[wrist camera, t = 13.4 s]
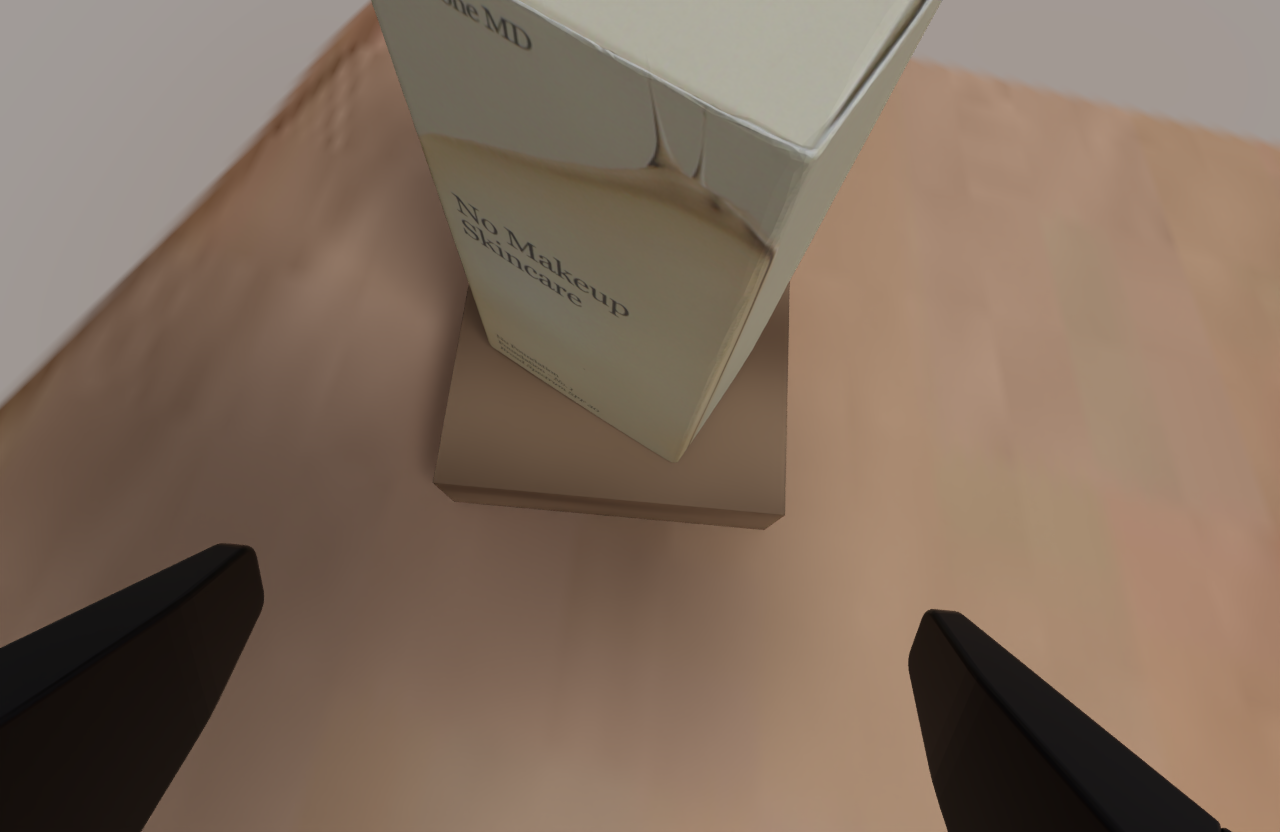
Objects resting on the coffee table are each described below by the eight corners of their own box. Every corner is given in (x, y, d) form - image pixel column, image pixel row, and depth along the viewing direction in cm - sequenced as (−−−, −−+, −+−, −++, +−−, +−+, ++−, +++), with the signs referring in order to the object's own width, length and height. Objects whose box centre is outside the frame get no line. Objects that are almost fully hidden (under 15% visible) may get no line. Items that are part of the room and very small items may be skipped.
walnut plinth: (764, 529, 20) (784, 515, 18) (454, 501, 20) (432, 482, 18) (772, 257, 23) (790, 212, 21) (499, 231, 23) (487, 183, 20)
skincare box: (486, 348, 19) (287, -119, 7) (579, 230, 20) (536, -328, 8) (683, 473, 18) (812, 171, 6) (768, 342, 19) (1005, -110, 8)
